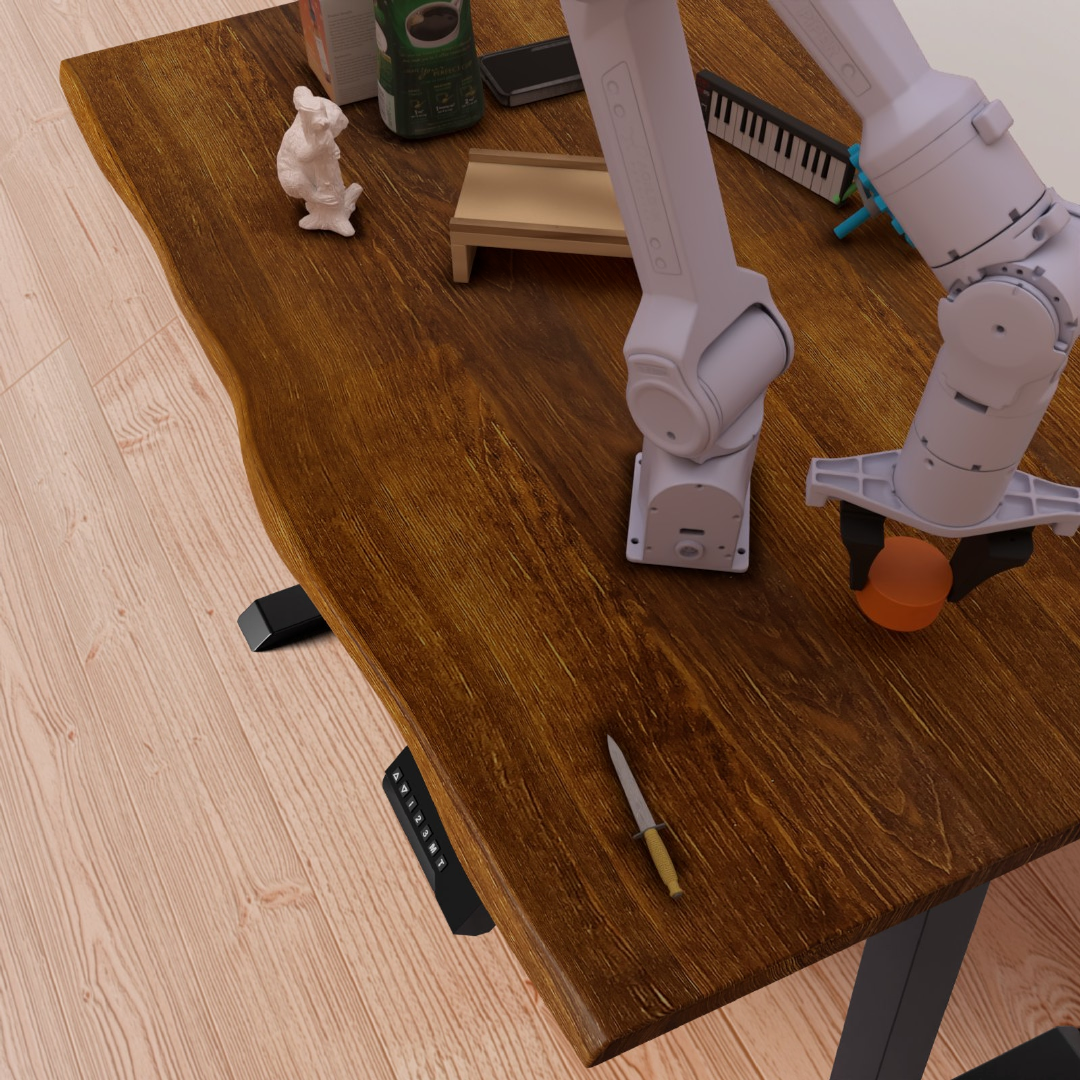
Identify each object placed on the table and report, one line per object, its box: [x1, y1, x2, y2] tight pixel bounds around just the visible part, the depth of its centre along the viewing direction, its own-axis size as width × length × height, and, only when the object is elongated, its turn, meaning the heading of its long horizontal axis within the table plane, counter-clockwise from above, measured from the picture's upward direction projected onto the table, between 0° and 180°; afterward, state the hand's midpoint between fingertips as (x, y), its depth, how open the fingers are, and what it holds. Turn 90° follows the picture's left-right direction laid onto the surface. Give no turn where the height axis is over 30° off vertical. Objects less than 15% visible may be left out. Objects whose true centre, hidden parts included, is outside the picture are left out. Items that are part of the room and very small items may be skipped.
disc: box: [854, 535, 953, 633], centre depth 71 cm, size 5×5×3 cm
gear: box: [833, 142, 916, 250], centre depth 96 cm, size 11×6×10 cm
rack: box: [448, 147, 633, 284], centre depth 94 cm, size 10×18×6 cm, turn 83°
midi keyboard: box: [695, 68, 857, 209], centre depth 102 cm, size 18×1×5 cm, turn 42°
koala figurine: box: [276, 85, 364, 237], centre depth 94 cm, size 8×7×12 cm
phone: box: [478, 34, 585, 107], centre depth 112 cm, size 8×1×15 cm
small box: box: [297, 0, 378, 107], centre depth 108 cm, size 8×6×10 cm
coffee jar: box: [373, 0, 486, 140], centre depth 101 cm, size 10×8×19 cm
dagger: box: [607, 734, 684, 900], centre depth 65 cm, size 11×1×2 cm
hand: (904, 583), depth 71 cm, fingers closed on disc, 5 cm apart
